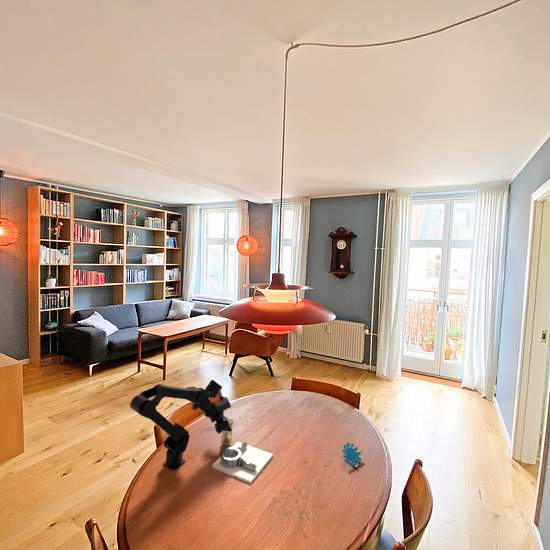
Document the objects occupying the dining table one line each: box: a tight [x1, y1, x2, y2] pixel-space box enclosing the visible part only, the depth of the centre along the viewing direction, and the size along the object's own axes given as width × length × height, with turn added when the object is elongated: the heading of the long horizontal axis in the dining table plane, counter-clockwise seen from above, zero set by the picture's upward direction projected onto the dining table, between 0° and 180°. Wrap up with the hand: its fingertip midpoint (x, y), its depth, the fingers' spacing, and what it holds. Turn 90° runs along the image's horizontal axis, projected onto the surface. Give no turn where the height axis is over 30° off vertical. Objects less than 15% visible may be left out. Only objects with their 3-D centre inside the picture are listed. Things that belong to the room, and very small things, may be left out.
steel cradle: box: [219, 441, 257, 472], centre depth 136 cm, size 16×16×4 cm
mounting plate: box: [211, 441, 274, 485], centre depth 136 cm, size 20×18×1 cm
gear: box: [341, 442, 362, 468], centre depth 142 cm, size 11×6×10 cm
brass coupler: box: [220, 417, 234, 446], centre depth 147 cm, size 5×5×10 cm
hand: (229, 427), depth 148 cm, fingers closed on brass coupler, 5 cm apart
